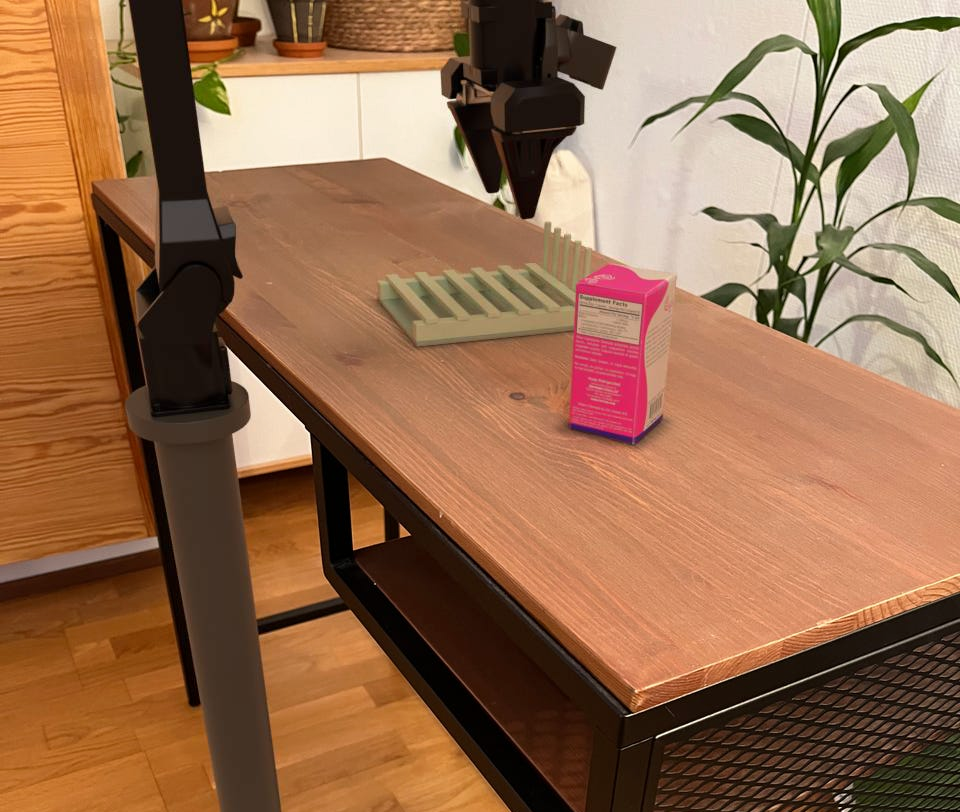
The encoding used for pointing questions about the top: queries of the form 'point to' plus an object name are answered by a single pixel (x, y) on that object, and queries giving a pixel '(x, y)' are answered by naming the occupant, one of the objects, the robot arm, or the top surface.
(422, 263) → the top surface
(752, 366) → the top surface
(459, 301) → the drying rack
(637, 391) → the supplement box
